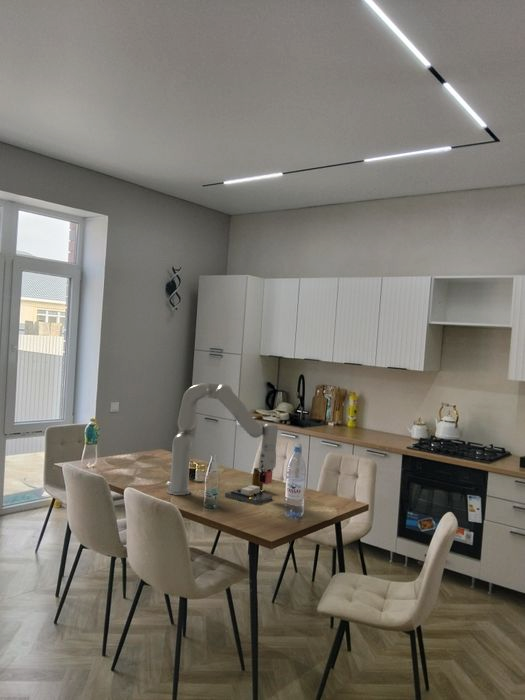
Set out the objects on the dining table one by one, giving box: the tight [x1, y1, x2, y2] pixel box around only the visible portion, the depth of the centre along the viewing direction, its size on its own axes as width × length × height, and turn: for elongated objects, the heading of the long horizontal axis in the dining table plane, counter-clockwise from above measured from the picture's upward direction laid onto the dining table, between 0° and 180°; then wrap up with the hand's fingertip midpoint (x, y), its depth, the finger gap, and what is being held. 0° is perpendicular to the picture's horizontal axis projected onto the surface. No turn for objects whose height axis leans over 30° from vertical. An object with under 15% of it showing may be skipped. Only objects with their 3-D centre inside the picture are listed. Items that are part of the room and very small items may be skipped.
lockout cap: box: [258, 470, 274, 485], centre depth 297 cm, size 5×5×6 cm
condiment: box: [251, 467, 264, 490], centre depth 316 cm, size 7×8×12 cm
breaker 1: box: [240, 486, 254, 496], centre depth 296 cm, size 5×5×3 cm
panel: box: [224, 488, 273, 506], centre depth 298 cm, size 20×15×3 cm
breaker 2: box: [247, 484, 260, 494], centre depth 301 cm, size 5×5×3 cm
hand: (265, 481), depth 297 cm, fingers closed on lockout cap, 5 cm apart
